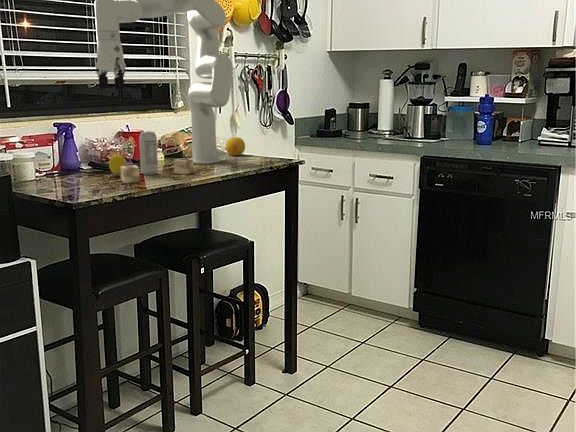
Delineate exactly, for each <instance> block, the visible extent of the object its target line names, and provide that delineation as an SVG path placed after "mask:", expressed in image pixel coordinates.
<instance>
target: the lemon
mask: <svg viewBox="0 0 576 432" xmlns="http://www.w3.org/2000/svg"><path fill="white" fill-rule="evenodd" d="M108 166H109V170H110V171H111V172H112V173H113V174H114V175H116V176H119V175H121V170H120V166H126V161H125V158H124V157H123V155H122V154H119V153H118V152H115V154H112V155H111V156H110V157H109V161H108Z"/></svg>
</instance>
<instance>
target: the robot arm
mask: <svg viewBox="0 0 576 432" xmlns="http://www.w3.org/2000/svg"><path fill="white" fill-rule="evenodd" d="M185 12H187V16H186V18H187V22H188V25H189V26H190V27H191V28H192V29H193V32H194V33H195V35H196V37H197V38H196V39H197V49H196V50H197V51H196V57H195V66H194V67H195V69H194V70H195V74H196V75H197V77H199V78H201V79H205V80H211V82H209V81H198V82H197V81H196V82H195V83H193V84H192V85H190V87H189V89H188V93H187V97H188V102H189V106H190V107H189V108H190V114H191V115H190V117H191V144H192V145H191V151H192V152H191V155H192V157H190V158H189V159H193V164H195V165H196V164H197V165H198V164H199V165H200V164H201V165H203V164H204V165H205V164H206V165H209V164H210V165H211V164H217V163H220V162H221V159H220V156H224V155H225V154H226V152H225V150H219V149H217V141H216V140H217V135H216V134H217V132H216V129H217V128H216V127H217V126H216V125H217V124H216V122H217V121H216V120H217V119H216V114H215V111H214V108H216V109H217V108H223V107H225V106H226V105H227V104H228V103H229V100H230V96H231V90H232V81H233V73H234V67H233V62H232V60H231V58H230V57H229V56H227V55H225V54H222V53H220V46H221V45H220V38H219V35H218V32H217V31H216V30H217V29H220V28H222V27H223V26H224V25H225V23H226V21H227V14H226V12H225V9H224V8H223V6H221V5H220V4H219V3H218V2H217V1H216V0H94V16H95V17H94V20H95V31H96V32H95V33H96V42H97V43H96V45H97V46H96V62H95V64H94V66H95V68H96V69H95V70H96V74H97V77H98V87H99V89H100V90H101V89H109V78H108V76H107V75H108V72H112V73H113V74H114V77H113V79H114V80H113V81H114V89H115V91H118V90H121V91H122V90H124V89H125V83H124V80H125V79H124V77H125V73H126V69H127V68H126V67H127V65H126V63H125V57H124V49H123V44H122V42H121V37H120V35H121V34H120V24H122V23H123V24H125V23H135V22H137V21H139V20H140V19H154V18H162V17H165V16H170V15H174V14H180V13H185Z"/></svg>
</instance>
